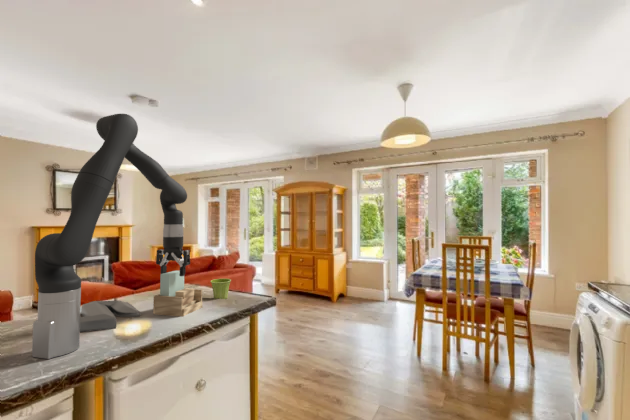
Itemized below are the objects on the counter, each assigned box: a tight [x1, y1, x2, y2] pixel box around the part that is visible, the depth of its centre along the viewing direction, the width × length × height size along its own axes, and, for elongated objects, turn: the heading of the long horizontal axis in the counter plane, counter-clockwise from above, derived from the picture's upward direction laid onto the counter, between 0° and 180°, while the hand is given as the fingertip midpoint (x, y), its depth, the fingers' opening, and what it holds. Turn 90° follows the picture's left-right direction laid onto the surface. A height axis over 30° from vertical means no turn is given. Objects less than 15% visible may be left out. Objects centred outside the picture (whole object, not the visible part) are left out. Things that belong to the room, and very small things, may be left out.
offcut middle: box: [183, 295, 194, 306], centre depth 118 cm, size 8×4×2 cm, turn 170°
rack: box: [152, 288, 203, 318], centre depth 119 cm, size 13×13×8 cm
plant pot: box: [210, 278, 232, 300], centre depth 141 cm, size 9×9×9 cm
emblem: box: [80, 300, 141, 333], centre depth 111 cm, size 28×5×28 cm
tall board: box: [159, 270, 185, 297], centre depth 120 cm, size 9×4×15 cm, turn 167°
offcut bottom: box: [183, 300, 196, 309], centre depth 119 cm, size 10×4×3 cm, turn 167°
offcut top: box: [175, 287, 195, 299], centre depth 120 cm, size 6×4×2 cm, turn 163°
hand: (172, 275), depth 121 cm, fingers open, 8 cm apart
